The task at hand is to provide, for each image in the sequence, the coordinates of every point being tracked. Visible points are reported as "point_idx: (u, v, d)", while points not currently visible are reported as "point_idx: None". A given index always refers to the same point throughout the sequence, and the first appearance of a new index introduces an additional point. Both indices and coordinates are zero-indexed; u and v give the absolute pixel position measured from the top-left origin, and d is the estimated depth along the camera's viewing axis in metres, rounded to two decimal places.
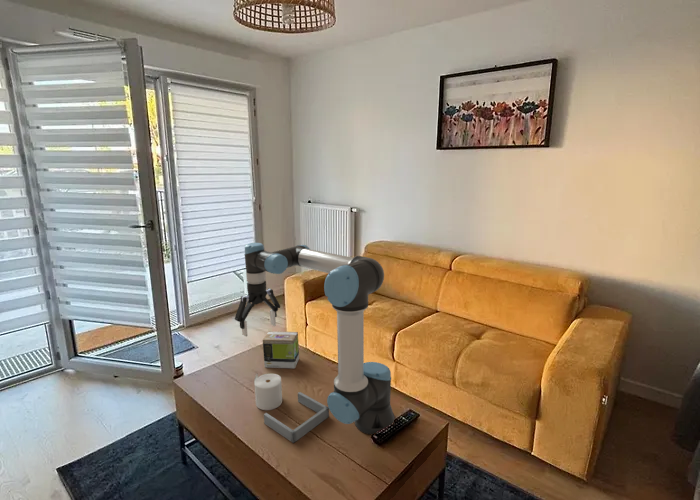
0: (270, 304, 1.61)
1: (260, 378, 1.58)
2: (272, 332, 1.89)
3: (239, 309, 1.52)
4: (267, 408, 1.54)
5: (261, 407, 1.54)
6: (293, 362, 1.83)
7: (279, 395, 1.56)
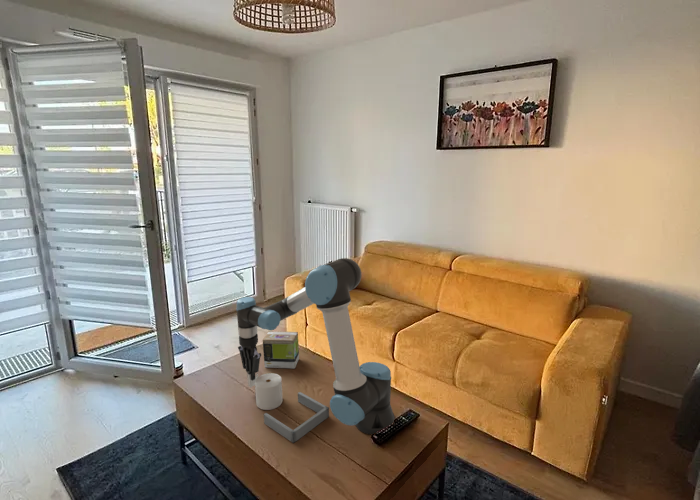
0: (249, 364, 1.60)
1: (260, 378, 1.58)
2: (272, 332, 1.89)
3: None
4: (267, 408, 1.54)
5: (261, 407, 1.54)
6: (293, 362, 1.83)
7: (279, 395, 1.56)
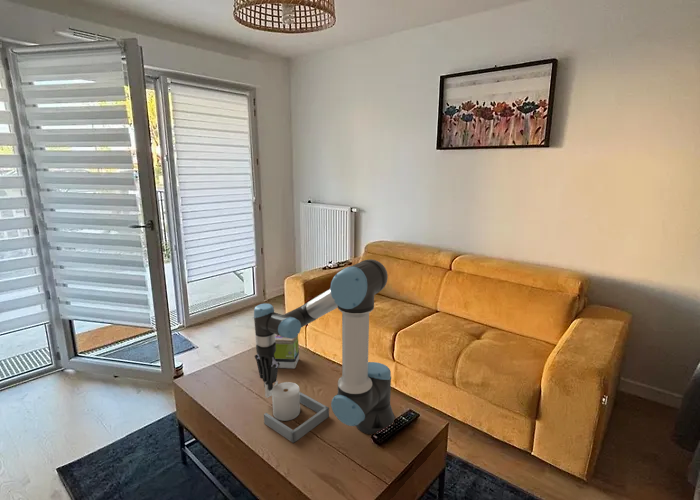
0: (267, 373, 1.53)
1: (278, 386, 1.52)
2: None
3: None
4: (283, 419, 1.47)
5: (277, 417, 1.48)
6: (293, 362, 1.83)
7: (296, 406, 1.49)
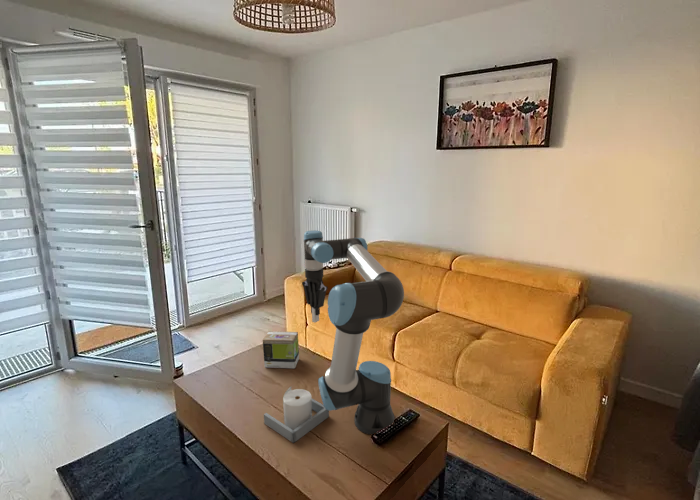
0: (315, 298, 1.61)
1: (290, 393, 1.48)
2: (272, 332, 1.89)
3: None
4: (292, 427, 1.43)
5: (287, 424, 1.44)
6: (293, 362, 1.83)
7: (307, 415, 1.43)
